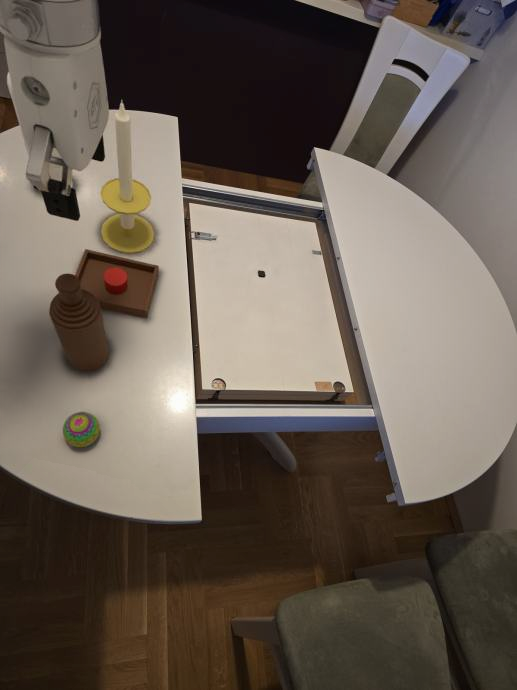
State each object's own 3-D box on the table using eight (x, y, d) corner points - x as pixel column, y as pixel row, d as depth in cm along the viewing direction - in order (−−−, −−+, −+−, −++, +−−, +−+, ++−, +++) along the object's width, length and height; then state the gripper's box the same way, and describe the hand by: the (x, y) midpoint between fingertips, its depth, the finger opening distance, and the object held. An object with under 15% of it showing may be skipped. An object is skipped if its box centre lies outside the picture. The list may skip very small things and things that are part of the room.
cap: (124, 296, 70) (123, 288, 68) (102, 291, 69) (100, 283, 67) (129, 279, 72) (129, 270, 70) (108, 274, 71) (107, 265, 69)
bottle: (61, 367, 62) (29, 297, 45) (73, 333, 65) (48, 255, 48) (102, 374, 63) (87, 309, 46) (113, 340, 67) (102, 267, 49)
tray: (69, 302, 68) (67, 294, 66) (87, 257, 72) (85, 248, 70) (146, 317, 70) (146, 311, 68) (158, 273, 75) (158, 265, 73)
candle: (112, 208, 79) (100, 68, 56) (160, 224, 80) (167, 94, 57) (92, 243, 74) (69, 105, 51) (144, 260, 75) (144, 133, 52)
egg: (68, 417, 59) (61, 405, 54) (102, 417, 60) (98, 405, 55) (63, 450, 57) (55, 440, 52) (99, 449, 58) (95, 440, 53)
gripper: (61, 83, 26) (90, 251, 41) (125, -26, 34) (130, 146, 49) (-66, 45, 24) (13, 233, 39) (33, -59, 33) (67, 128, 47)
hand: (78, 185), depth 44 cm, fingers open, 9 cm apart
